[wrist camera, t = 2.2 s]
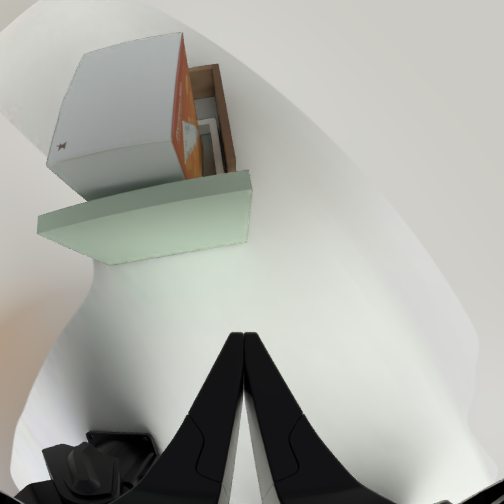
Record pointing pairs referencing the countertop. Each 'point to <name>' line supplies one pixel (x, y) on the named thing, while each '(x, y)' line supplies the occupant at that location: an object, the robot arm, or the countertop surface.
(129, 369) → the countertop surface
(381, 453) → the countertop surface
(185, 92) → the small box
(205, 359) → the countertop surface
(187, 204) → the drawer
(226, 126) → the brown cardboard tray
